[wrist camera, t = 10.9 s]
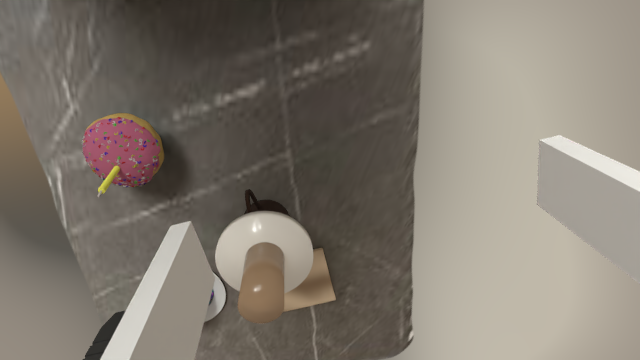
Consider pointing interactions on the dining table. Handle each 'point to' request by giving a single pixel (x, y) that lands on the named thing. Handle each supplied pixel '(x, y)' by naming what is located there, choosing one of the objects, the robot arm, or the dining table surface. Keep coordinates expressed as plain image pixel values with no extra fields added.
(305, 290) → the cork mat
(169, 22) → the dining table surface
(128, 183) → the cupcake
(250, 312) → the lid
